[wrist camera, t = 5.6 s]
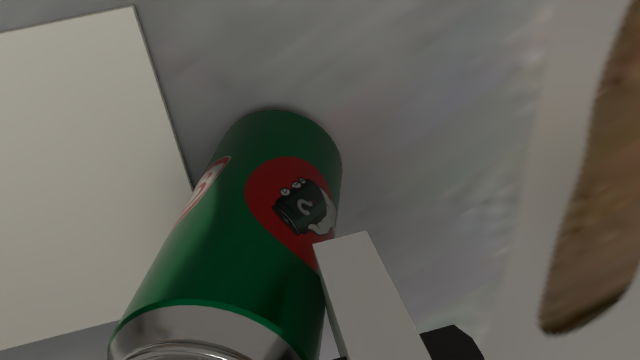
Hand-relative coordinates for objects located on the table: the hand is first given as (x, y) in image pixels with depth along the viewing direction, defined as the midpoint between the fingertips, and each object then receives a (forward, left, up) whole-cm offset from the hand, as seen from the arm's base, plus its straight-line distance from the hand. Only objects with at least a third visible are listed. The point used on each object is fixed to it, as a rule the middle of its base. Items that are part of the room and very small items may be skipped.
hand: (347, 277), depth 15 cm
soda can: (-1, 0, -9) cm, 9 cm away
